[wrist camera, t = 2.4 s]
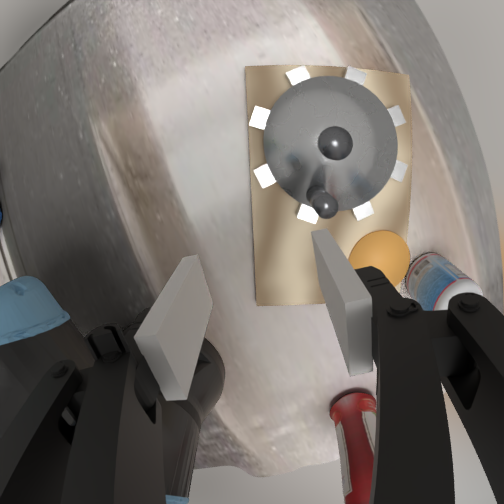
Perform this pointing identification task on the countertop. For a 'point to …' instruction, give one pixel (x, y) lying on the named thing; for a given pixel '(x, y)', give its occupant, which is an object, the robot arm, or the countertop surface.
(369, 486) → the liquor
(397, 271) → the seat pad
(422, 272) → the pill bottle
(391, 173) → the sprocket disc
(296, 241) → the board
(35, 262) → the countertop surface
